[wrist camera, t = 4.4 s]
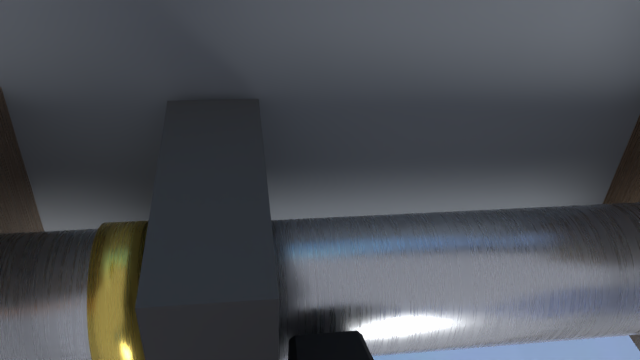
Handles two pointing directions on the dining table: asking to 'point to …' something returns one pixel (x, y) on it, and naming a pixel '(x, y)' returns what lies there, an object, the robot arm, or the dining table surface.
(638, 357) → the dining table surface
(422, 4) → the mat
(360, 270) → the rod holder
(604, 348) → the dining table surface
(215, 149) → the dark grey upright slab
